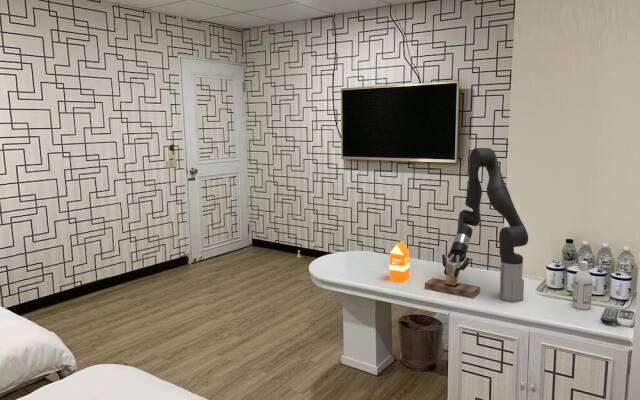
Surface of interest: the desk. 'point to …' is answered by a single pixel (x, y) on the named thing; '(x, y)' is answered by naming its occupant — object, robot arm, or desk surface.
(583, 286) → the bath foam
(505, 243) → the robot arm
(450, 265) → the tan cylinder
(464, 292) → the brown wooden slotted board
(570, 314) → the desk surface
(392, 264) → the orange juice
